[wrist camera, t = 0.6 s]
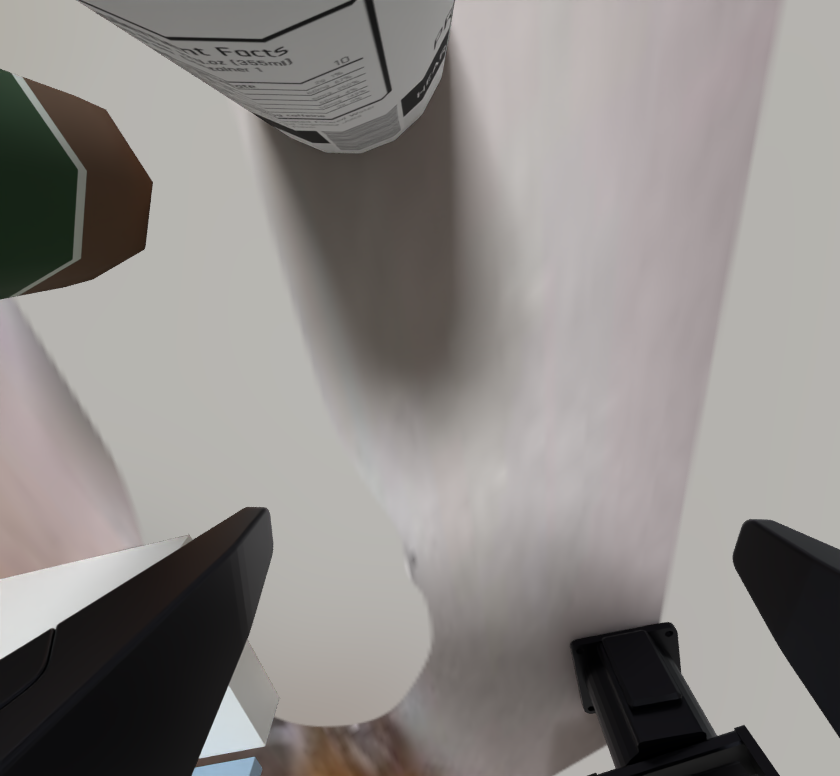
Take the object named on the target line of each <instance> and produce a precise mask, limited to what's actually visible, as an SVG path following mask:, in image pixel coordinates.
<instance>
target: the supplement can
mask: <svg viewBox="0 0 840 776" xmlns="http://www.w3.org/2000/svg"><path fill="white" fill-rule="evenodd" d="M77 1H78V2H80V3H82V4H83V5H85V6H86V7H88V8H89V9H91V10H93V11H94V12H96V13H97V14H99V15H100V16H102V17H103V18H105V19H106V20H108V21H110V22H111V23H113V24H114V25H116V26H117V27H119V28H121V29H122V30H124V31H125V32H127V33H129V34H130V35H132V36H133V37H135V38H136V39H138V40H139V41H141V42H142V43H144V44H145V45H147V46H149V47H150V48H152V49H153V50H155V51H157V52H158V53H160V54H161V55H163V56H164V57H166V58H167V59H169V60H170V61H172V62H174V63H175V64H177V65H178V66H180V67H181V68H183V69H184V70H186V71H188V72H189V73H191V74H192V75H194V76H195V77H197V78H199V79H200V80H202V81H203V82H205V83H206V84H208V85H209V86H211V87H213V88H214V89H216V90H217V91H219V92H220V93H222V94H224V95H225V96H227V97H228V98H230V99H231V100H233V101H234V102H236V103H238V104H239V105H241V106H242V107H244V108H245V109H247V110H248V111H250V112H252V113H253V114H255V115H256V116H258V117H259V118H261V119H262V120H264V121H266V122H267V123H269V124H270V125H272V126H273V127H275V128H277V129H278V130H280V131H281V132H283V133H284V134H286V135H287V136H289V137H291V138H292V139H295V140H297V141H300V142H302V143H304V144H307V145H309V146H311V147H314V148H316V149H319V150H321V151H323V152H326V153H363V152H366V151H369V150H371V149H374V148H376V147H379V146H381V145H384V144H386V143H389V142H392V141H394V140H395V139H397V138H398V137H399V136H400V135H401V134H402V133H403V132H404V131H405V130H406V129H407V128H408V127H409V126H410V125H412V124H413V123H414V122H415V121H416V120H417V119H418V118H419V117H420V116H421V115H422V114H423V112H424V110H425V108H426V107H427V105H428V103H429V101H430V99H431V97H432V95H433V93H434V91H435V89H436V87H437V86H438V84H439V82H440V80H441V78H442V72H443V67H444V61H445V56H446V50H447V45H448V39H449V34H450V27H451V21H452V15H453V9H454V2H455V0H77Z"/></svg>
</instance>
